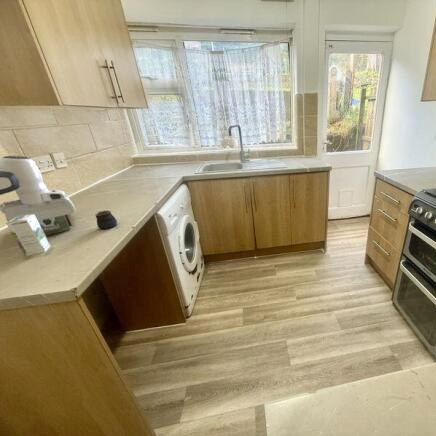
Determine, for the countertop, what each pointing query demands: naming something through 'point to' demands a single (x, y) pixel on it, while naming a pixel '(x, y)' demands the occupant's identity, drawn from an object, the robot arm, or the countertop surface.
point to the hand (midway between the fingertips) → (50, 228)
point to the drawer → (56, 225)
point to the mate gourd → (105, 220)
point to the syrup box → (28, 234)
